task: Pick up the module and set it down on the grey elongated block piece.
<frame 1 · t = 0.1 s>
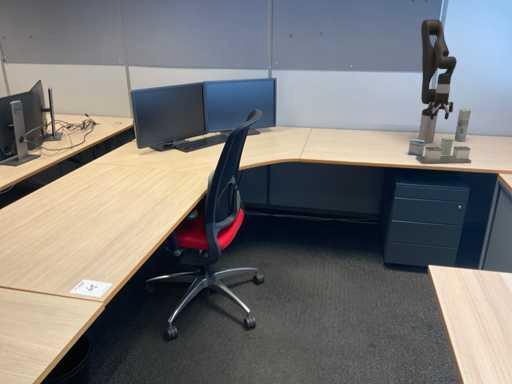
hand: (438, 119, 256), 17 cm above the table, tool pointing down, fingers open, 8 cm apart
module: (444, 154, 249), on the table
medicine box: (415, 154, 250), on the table
grey elongated block piece: (443, 160, 238), on the table
spray paint can: (459, 140, 277), on the table
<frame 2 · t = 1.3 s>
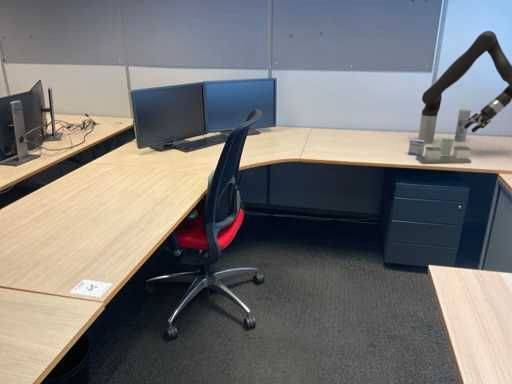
hand: (468, 129, 244), 15 cm above the table, tool tilted 45°, fingers open, 8 cm apart
nothing on the table moved.
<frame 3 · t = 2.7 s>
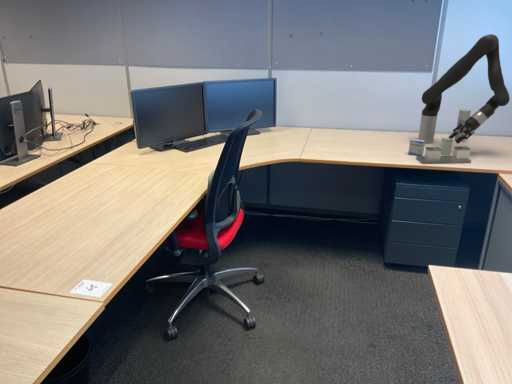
hand: (452, 140, 246), 8 cm above the table, tool tilted 45°, fingers open, 8 cm apart
nothing on the table moved.
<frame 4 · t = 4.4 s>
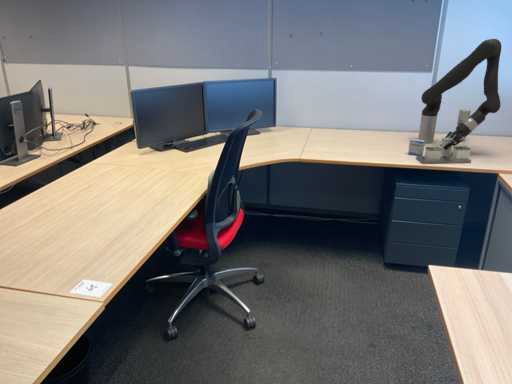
hand: (442, 147, 248), 4 cm above the table, tool tilted 45°, fingers closed on module, 4 cm apart
module: (444, 154, 249), on the table, touching gripper
everything else where it was.
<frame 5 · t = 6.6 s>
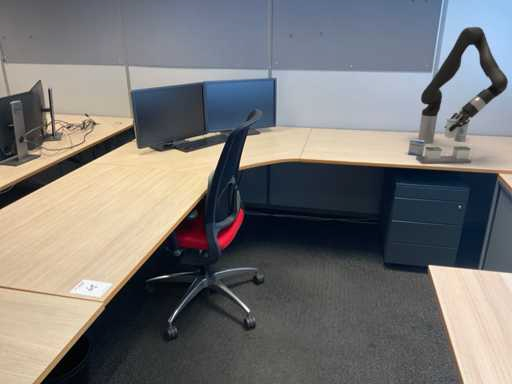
hand: (447, 129, 231), 18 cm above the table, tool tilted 45°, fingers closed on module, 4 cm apart
module: (450, 136, 233), point 14 cm above the table, touching gripper
everything else where it was.
when the fingers open (6 cm above the table, at t = 9.0 s): module stays where it is, resting on grey elongated block piece.
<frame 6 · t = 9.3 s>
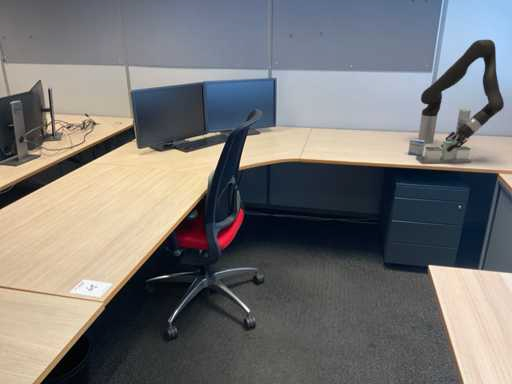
hand: (444, 149, 236), 7 cm above the table, tool tilted 45°, fingers open, 6 cm apart
module: (446, 158, 238), point 1 cm above the table, touching grey elongated block piece
everything else where it was.
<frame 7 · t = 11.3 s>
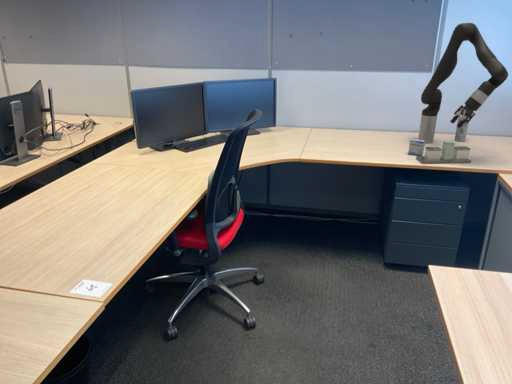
hand: (454, 124, 233), 20 cm above the table, tool tilted 35°, fingers open, 8 cm apart
nothing on the table moved.
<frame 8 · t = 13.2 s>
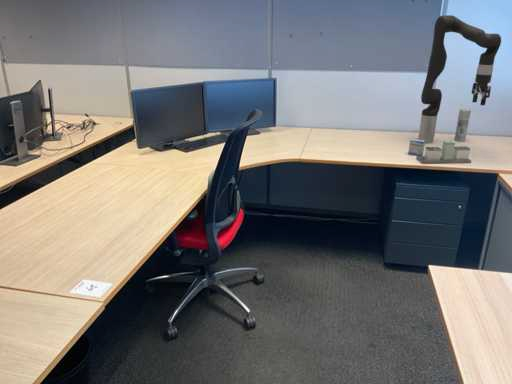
hand: (478, 103, 235), 30 cm above the table, tool pointing down, fingers open, 8 cm apart
nothing on the table moved.
at the end: module inside the target area (0.1 cm from its centre), point 1.5 cm above the table; module tilted 0°; the gripper is holding nothing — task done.
